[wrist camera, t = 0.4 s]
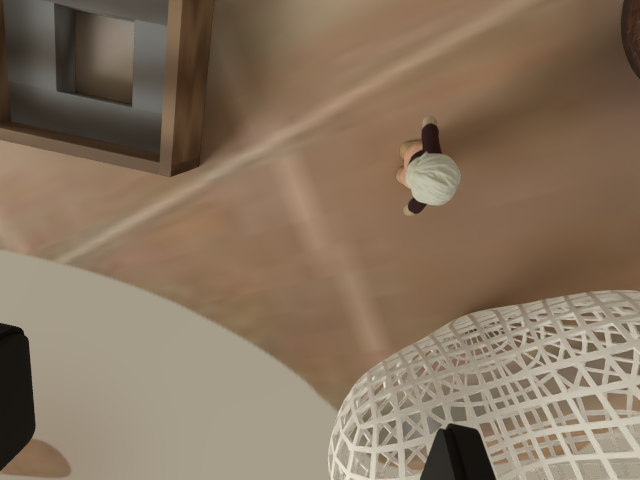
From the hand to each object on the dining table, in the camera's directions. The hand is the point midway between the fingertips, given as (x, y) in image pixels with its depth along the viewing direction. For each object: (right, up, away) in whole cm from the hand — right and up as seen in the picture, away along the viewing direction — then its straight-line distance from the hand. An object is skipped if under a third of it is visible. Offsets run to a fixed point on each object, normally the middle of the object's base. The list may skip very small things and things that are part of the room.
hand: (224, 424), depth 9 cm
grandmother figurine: (+11, +12, +27) cm, 32 cm away
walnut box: (-17, +21, +27) cm, 38 cm away
